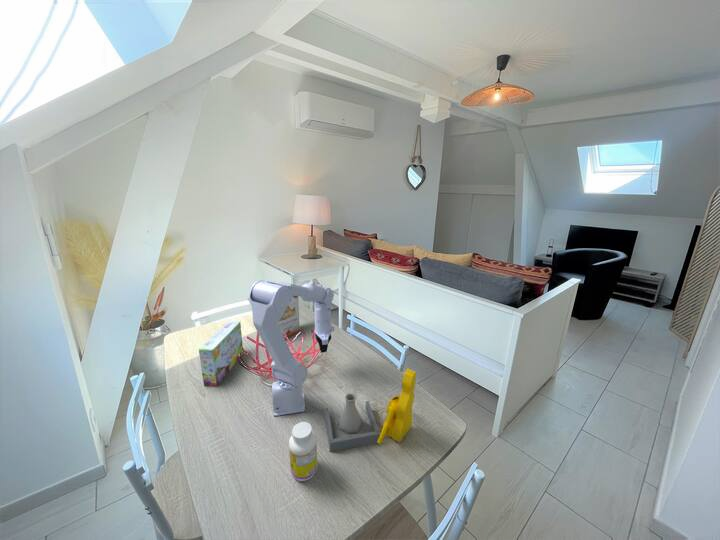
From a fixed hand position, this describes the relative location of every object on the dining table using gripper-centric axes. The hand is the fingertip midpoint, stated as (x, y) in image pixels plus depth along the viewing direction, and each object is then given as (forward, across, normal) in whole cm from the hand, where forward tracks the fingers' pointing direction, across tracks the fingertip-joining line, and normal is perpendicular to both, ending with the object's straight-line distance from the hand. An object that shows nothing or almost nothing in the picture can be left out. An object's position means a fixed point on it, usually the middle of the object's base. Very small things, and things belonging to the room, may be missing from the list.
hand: (323, 351), depth 105 cm
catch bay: (+9, -27, -5) cm, 29 cm away
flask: (+10, -26, -5) cm, 28 cm away
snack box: (+10, +11, +37) cm, 40 cm away
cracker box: (+10, +32, +15) cm, 37 cm away
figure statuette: (+10, -32, -18) cm, 38 cm away
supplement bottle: (+10, -37, +9) cm, 39 cm away
